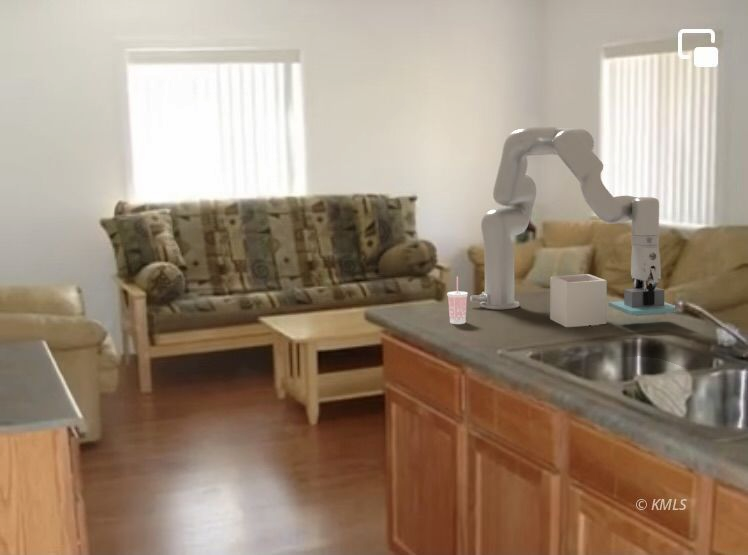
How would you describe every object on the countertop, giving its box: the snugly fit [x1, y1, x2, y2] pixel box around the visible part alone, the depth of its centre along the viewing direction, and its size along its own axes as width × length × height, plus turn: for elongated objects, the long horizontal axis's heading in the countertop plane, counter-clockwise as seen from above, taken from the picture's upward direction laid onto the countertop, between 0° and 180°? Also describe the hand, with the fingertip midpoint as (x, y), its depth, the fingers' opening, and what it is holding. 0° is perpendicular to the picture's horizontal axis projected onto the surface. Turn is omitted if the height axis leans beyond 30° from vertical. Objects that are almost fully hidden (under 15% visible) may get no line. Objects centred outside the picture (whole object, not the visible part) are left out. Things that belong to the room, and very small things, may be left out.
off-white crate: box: [549, 273, 608, 328], centre depth 296 cm, size 12×12×13 cm
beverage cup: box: [446, 275, 469, 325], centre depth 298 cm, size 6×6×14 cm
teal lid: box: [608, 286, 678, 317], centre depth 289 cm, size 15×15×6 cm
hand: (644, 302), depth 289 cm, fingers closed on teal lid, 5 cm apart
